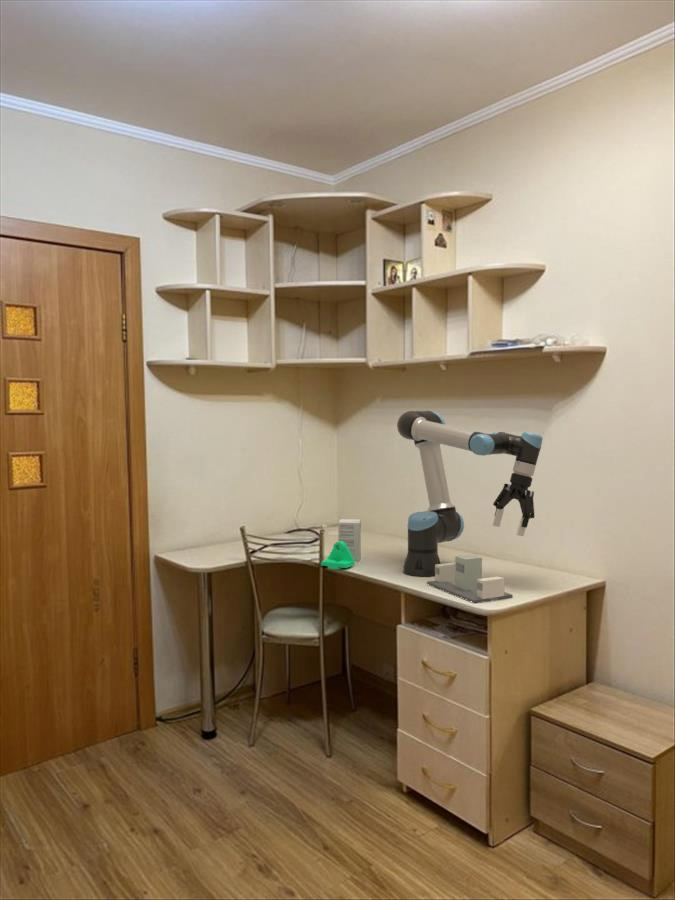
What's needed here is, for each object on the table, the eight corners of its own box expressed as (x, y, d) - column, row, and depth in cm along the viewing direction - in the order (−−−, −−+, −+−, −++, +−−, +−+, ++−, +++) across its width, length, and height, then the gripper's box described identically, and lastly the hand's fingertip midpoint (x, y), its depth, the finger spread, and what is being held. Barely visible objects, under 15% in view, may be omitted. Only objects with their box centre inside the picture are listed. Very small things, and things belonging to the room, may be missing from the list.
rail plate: (427, 584, 251) (427, 565, 250) (463, 579, 258) (463, 561, 257) (474, 603, 225) (474, 582, 225) (512, 597, 232) (512, 577, 232)
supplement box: (339, 557, 299) (339, 518, 298) (360, 557, 298) (361, 519, 297) (338, 561, 289) (338, 522, 289) (359, 562, 289) (359, 522, 288)
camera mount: (320, 567, 279) (320, 542, 278) (328, 564, 286) (328, 539, 285) (346, 570, 273) (346, 545, 273) (354, 567, 280) (354, 542, 280)
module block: (454, 587, 242) (454, 556, 242) (471, 584, 246) (471, 554, 245) (464, 591, 237) (464, 559, 237) (481, 588, 240) (481, 557, 240)
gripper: (554, 482, 240) (538, 541, 241) (508, 470, 262) (494, 524, 263) (538, 478, 236) (522, 538, 237) (493, 466, 259) (479, 521, 260)
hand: (507, 530), depth 250 cm, fingers open, 13 cm apart
